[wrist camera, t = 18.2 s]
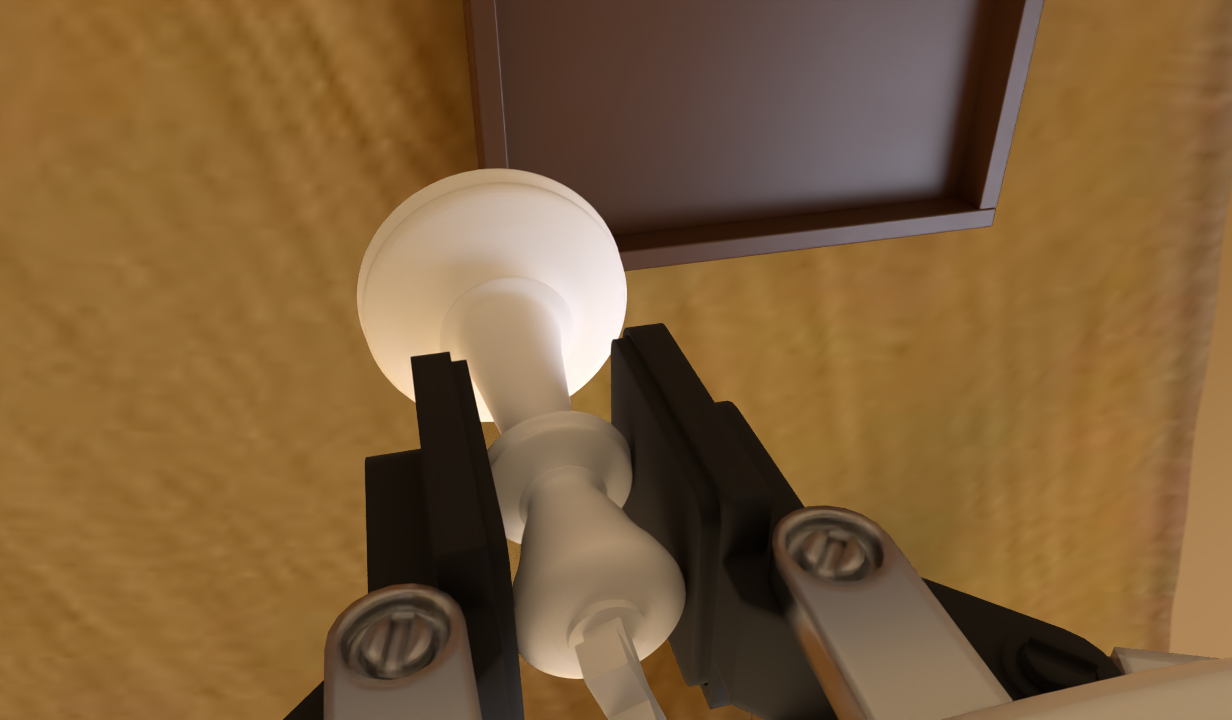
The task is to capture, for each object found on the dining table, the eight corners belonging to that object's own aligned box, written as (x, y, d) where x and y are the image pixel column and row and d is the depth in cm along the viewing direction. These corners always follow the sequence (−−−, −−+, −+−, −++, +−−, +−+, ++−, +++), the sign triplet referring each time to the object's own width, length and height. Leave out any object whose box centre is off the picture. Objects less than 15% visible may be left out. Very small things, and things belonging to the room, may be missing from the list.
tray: (445, -176, 24) (452, -178, 23) (1042, -181, 28) (1087, -183, 27) (487, 263, 31) (495, 288, 30) (961, 208, 36) (992, 227, 34)
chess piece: (568, 121, 15) (853, 481, 7) (653, 343, 18) (929, 791, 9) (303, 239, 15) (251, 762, 6) (432, 443, 17) (512, 992, 9)
